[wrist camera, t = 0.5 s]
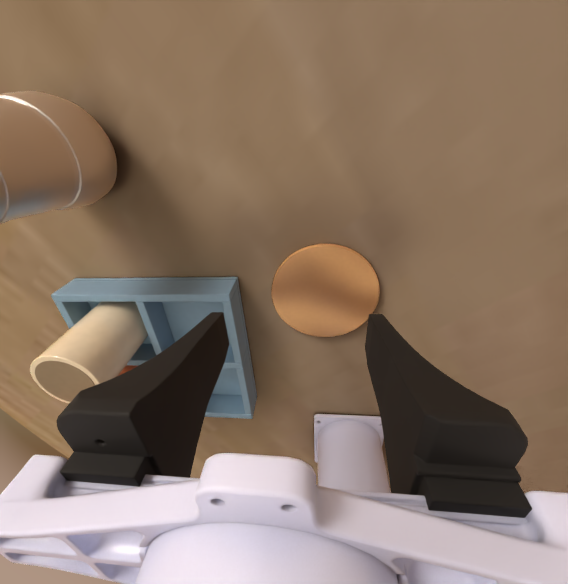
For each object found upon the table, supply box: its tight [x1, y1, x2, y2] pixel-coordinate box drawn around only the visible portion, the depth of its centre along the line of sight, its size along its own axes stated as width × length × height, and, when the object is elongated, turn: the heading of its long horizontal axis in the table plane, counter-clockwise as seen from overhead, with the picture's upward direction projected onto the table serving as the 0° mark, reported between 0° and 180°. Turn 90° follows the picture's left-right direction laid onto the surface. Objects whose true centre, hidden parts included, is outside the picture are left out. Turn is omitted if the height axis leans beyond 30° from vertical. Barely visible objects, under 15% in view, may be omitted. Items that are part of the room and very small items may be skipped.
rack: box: [51, 277, 257, 419], centre depth 29 cm, size 15×15×3 cm
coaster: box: [272, 244, 380, 337], centre depth 25 cm, size 9×9×1 cm
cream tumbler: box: [30, 302, 149, 404], centre depth 24 cm, size 5×5×8 cm
